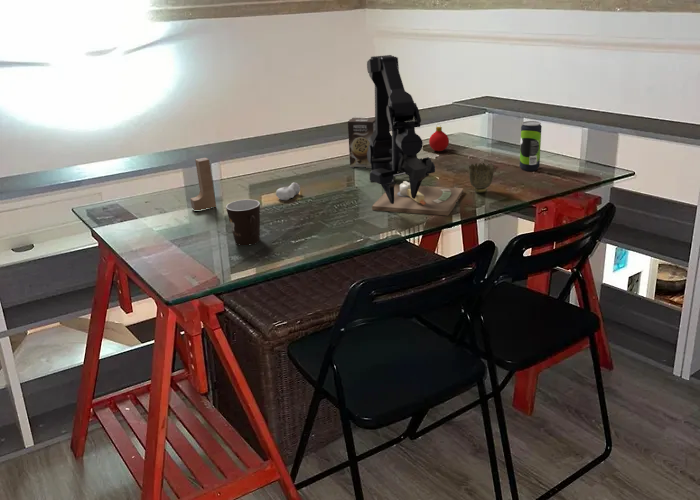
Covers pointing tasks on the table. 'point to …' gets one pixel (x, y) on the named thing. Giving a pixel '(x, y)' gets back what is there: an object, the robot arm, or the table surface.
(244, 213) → the coffee mug
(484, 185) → the cup
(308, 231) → the table surface
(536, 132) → the beverage can
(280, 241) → the table surface
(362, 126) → the coffee box
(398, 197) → the tuner board
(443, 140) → the christmas ornament
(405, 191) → the tuner pointer lever
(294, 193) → the pale two-lobed sculpture
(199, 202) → the wooden block
